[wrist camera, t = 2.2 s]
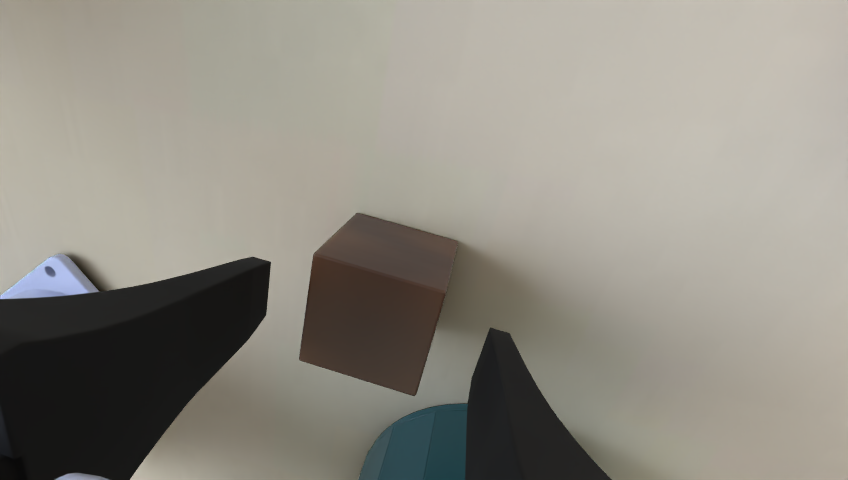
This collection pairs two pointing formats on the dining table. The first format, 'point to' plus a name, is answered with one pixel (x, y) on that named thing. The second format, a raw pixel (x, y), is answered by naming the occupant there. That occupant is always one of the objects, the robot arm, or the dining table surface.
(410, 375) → the block
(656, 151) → the dining table surface
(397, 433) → the tin
